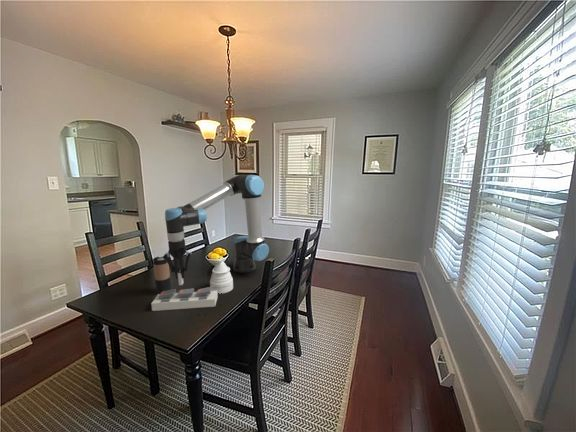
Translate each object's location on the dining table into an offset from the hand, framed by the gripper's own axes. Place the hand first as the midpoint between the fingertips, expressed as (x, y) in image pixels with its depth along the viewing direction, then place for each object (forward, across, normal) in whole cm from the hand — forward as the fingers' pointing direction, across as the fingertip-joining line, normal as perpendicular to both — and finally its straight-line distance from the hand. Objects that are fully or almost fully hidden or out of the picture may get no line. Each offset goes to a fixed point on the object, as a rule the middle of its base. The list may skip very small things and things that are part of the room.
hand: (181, 283), depth 127 cm
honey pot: (+11, -18, -14) cm, 25 cm away
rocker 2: (+6, -11, 0) cm, 12 cm away
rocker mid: (+5, -2, 0) cm, 6 cm away
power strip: (+11, -2, +1) cm, 11 cm away
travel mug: (+11, +14, -14) cm, 22 cm away
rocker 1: (+5, +7, 0) cm, 9 cm away
